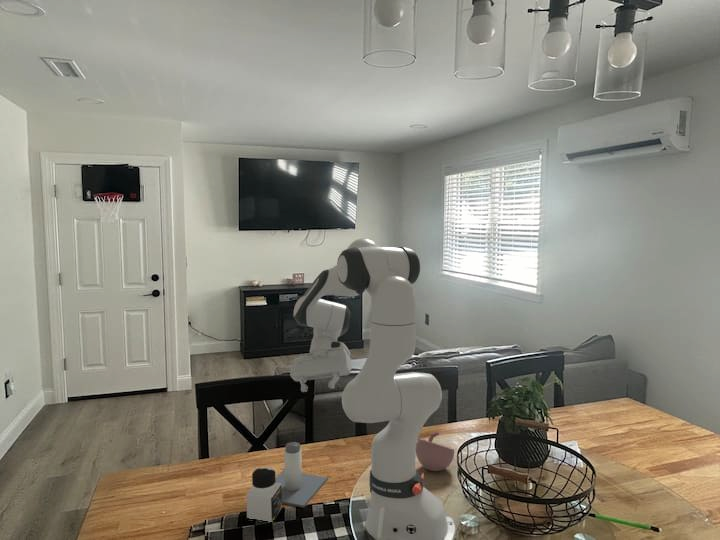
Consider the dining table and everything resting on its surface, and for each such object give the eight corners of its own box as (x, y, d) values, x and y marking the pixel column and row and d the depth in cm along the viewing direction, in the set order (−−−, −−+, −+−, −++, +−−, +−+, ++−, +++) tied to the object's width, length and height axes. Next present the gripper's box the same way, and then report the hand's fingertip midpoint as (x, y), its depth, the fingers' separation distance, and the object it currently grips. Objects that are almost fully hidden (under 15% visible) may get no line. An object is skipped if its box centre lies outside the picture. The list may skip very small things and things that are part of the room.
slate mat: (327, 479, 145) (327, 477, 145) (303, 507, 130) (303, 505, 130) (283, 471, 150) (283, 469, 150) (256, 497, 135) (256, 495, 135)
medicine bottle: (272, 523, 123) (271, 478, 122) (246, 520, 125) (245, 475, 124) (282, 507, 130) (281, 465, 129) (257, 505, 132) (256, 463, 131)
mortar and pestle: (461, 467, 152) (461, 432, 151) (442, 482, 142) (442, 445, 142) (428, 456, 159) (428, 423, 158) (408, 470, 150) (408, 435, 149)
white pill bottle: (304, 483, 141) (304, 442, 140) (296, 492, 137) (296, 450, 136) (290, 480, 143) (289, 440, 142) (281, 489, 139) (280, 447, 138)
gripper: (291, 350, 158) (283, 388, 149) (347, 342, 152) (343, 380, 143) (299, 360, 163) (292, 397, 153) (355, 352, 156) (351, 390, 147)
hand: (317, 389), depth 148 cm, fingers open, 8 cm apart
